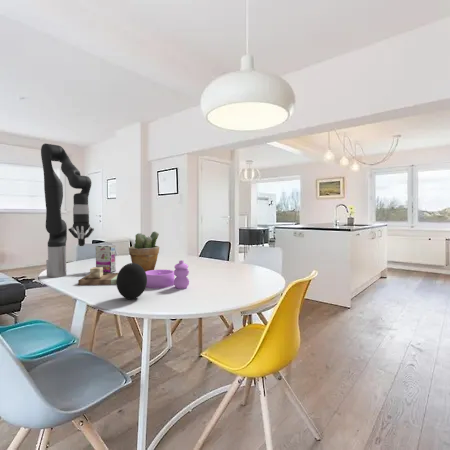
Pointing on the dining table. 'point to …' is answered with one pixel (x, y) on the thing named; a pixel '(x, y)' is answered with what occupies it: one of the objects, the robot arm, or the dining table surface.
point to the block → (96, 272)
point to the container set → (169, 277)
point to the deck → (99, 279)
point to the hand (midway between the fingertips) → (81, 245)
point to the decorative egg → (131, 281)
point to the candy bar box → (106, 257)
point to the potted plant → (145, 251)
